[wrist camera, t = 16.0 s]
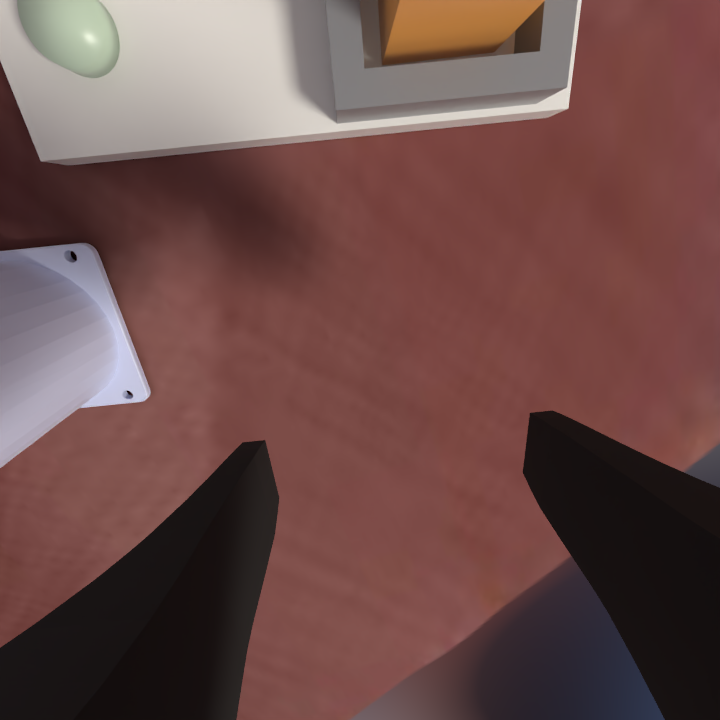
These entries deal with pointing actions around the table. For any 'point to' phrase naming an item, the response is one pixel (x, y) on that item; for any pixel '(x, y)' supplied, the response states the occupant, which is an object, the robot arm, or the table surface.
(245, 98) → the panel
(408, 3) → the orange rectangular block
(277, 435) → the table surface
